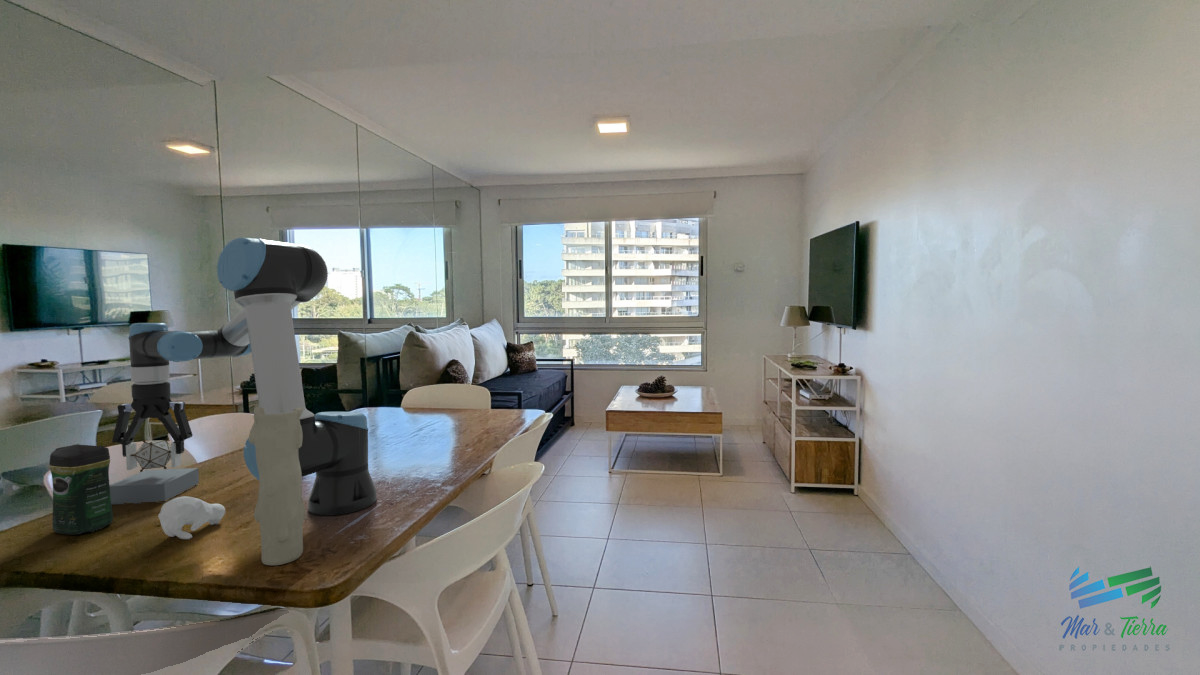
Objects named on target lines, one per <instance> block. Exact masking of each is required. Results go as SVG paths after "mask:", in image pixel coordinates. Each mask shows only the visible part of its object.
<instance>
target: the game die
mask: <svg viewBox="0 0 1200 675" xmlns="http://www.w3.org/2000/svg"><path fill="white" fill-rule="evenodd" d="M168 440H169V436H167V437H166V438H165V439H161V440H160V439H159V440H152V441H151V440H149V441H146V439H142V444H141V446H140V447H139V448H138V449H137V452H136V453H135V454H131V455H130V456H135V458H136V460H137V464H138V465H139V466H140V467H141V469H140V470H139V473H140V472H142V471H144V470H152V469H158V468H159V469H160V468H163V469H166V470H167V469H168V467H167V464H168V462H169V461H170V460H171V444H170V443H169V442H168Z"/></svg>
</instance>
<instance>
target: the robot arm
mask: <svg viewBox="0 0 1200 675" xmlns="http://www.w3.org/2000/svg"><path fill="white" fill-rule="evenodd" d="M217 260H218V261H217V265H216V274H217V279H218V281H219V283H220V284H221V286H222V288H224V289H225V290H228V291H230V292H233V295H234V302H235V303H237V304H239V306H241V307H243V309H242V310H240V311H239V312H238V313H237V314H236V315H234V317H232V318H231V319H230V320H229V321H227V323H225V324H224V325H222V326H221V327H220V328H219V329H204V330H202V329H201V330H169V326H168V325H167V324H166V323H165V322H137V323H136V322H135V323H131V324H130V326H129V330H128V331H129V332H128V333H129V334H128V335H129V336H128V338H127V339H128V343H129V358H130V359H129V360H130V381H131V382H132V383H133V384H131V388H130V389H131V397H132V402H131V403H127V402H126V403H123V404H118V405H117V411H118V412H117V413H118V416H117V420H116V422H115V428H114V431H113V432H114V433H113V435H112V440H111V442H112V443H115V444H116V443H117V444H120V445H121V449H122V454H121V455H122V457H123V458H124V457H125V459H126V460H125V461H126V471H131V470H133V469H135V468H137V467H138V461H137V460H136V458H135V456H130V455H131V454H135V453H136V452H137V451H138V449H137V448H138V447H137V442H134V439H135V438H136V436H137V434H138V432H139V431H140V429H141V426H142V425H143V423H144V421H145V420H146V419H149V418H150V419H151V418H152V419H157V420H158V421H160V422H161V423H162V425H163V427H164V428H165V429H166V431H167V432H168V434H169V436H170V437H171V438H172V440H173V441H172V442H170V447H171V459H170V460H171V469H176V468H177V467H179V466H181V465H182V454H184V452H185V440H187V439H190V438H192V437H193V435H194V434H193V432H192V428H191V426H190V422H189V420H188V416H187V414H186V411H185V407H186V402H185V401H179V402H175V401H172V400H171V382H170V381H169V380H170V378H171V376H170V374H171V373H170V362H174V363H180V362H189V361H192V360H203V359H204V360H205V359H214V358H215V359H216V358H229V357H230V358H237V357H241V356H247V355H249V354H251V359H252V360H251V361H252V365H253V367H252V368H253V373H254V379H255V380H254V381H255V388H256V393H257V394H256V395H257V400H258V401H257V402H258V407H260V408H263V409H264V412H265V414H282V413H289V412H293V410H294V409H295V408H297V407H302V408H303V412H302V414H301V416H300V419H299V420H300V425H301V428H302V434H303V440H302V446H301V447H300V448H299V449H298V456H299V462H300V467H301V474H302V478H303V477H306V476H308V475H312V474H315V479H314V482H313V485H312V488H311V491H310V494H309V497H308V501H307V502H308V512H310V513H311V514H314V515H318V516H340V515H345V514H351V513H354V512H355V513H356V512H358V511H361V510H365V509H366V508H369V507H370V506H372V505H373V504H375V502H376V501H377V488H376V487H375V483H374V481H373V479H372V476H371V473H370V470H369V427H368V420H367V419H368V418H367V416H366V415H365V414H364V413H361V412H354V411H321V412H317V413H315V414H314V413H313V412H312V411H310V410H308V409H307V408H306V403H305V397H304V394H305V393H304V388H303V381H302V375H301V368H300V362H299V354H298V348H297V341H296V334H295V328H294V322H293V321H294V320H293V314H292V310H293V309H295V307H297V306H298V305H299V304H301V303H302V304H303V303H308V302H310V301H311V300H313V299H314V298H315V297H317V296H318V295H319V294H320V293H321V291H322V290H323V289H324V288H325V285H326V283H327V281H328V274H329V273H328V266H327V264H326V261H325V260H324V258H323V256H322V255H320V254H319V253H318V251H316V250H315V249H313V248H312V247H310V246H308V245H304V244H300V243H292V242H291V243H290V242H285V241H284V242H283V241H278V240H277V241H276V240H269V239H263V238H261V237H254V238H253V237H237V238H233V239H231V240H230V241H228V243H227V244H225V246H224V247H223V249H222V251H221V252H220V254H219V256H218V259H217ZM169 409H171V410H172V411H173V414H174V418H175V420H174V419H173V417H172V414H171V412H170V411H169ZM131 411H135V414H134V416H133V418H132V422H131V423H130V425H129V422H130V417H131ZM175 421H176V422H175ZM128 425H129V427H128ZM243 458H244V463H245V465H246V467H247V469H248V471H249V472H250V474H251V475H252V476H253V477H254V478H255V479H256V480H257V481H259V482H260V479H259V472H258V467H257V462H256V450H255V445H254V444H251V443H250V442H249V437H248V438H247V439H246V440H245V443H244V446H243Z"/></svg>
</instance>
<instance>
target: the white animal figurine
mask: <svg viewBox="0 0 1200 675" xmlns="http://www.w3.org/2000/svg"><path fill="white" fill-rule="evenodd" d="M225 514H226V508H225V507H224V505H222V504H220V503H208V502H206V501H204V500H202V499H200V498H197V497H193V496H176V497H174V498H172V499H170V500H168V501H166V502H164V503H163V505H162V506H161V508H160V512H159V513H158V515H157V517H158V519H159V521H160V525H161V528H162V530H163V532H164V534H165V535H167V536H168V537H172V538H173V537H175V536H176V537H177V538H178V539H180V540H191V539H192V538H193V535H192V533H189V532H188V531H183V527H184V526H185V525H187V526H189V525H190V530H191V531H192V532H195V531H196V530H198V529H199V528H200V527H202V526H203V525H204V524H207V523H209V524H210V525H211V526H212V525H217V526H218V524H219V523H220V522H221V520H222V519H223V517H224V516H225ZM190 538H191V539H190Z"/></svg>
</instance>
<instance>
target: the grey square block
mask: <svg viewBox="0 0 1200 675" xmlns="http://www.w3.org/2000/svg"><path fill="white" fill-rule="evenodd" d="M198 483H199V484H200V477H199V468H198V467H194V468H193V467H192V468H189V467H188V468H187V467H186V468H167V470H166V469H164V468H161V469H160V468H159V469H158V468H156V469H144V470H143V471H142V472H140V471H139V472H138V473H137V472H136V473H135V474H133V475H130V476H128V477H126V478H122V479H121V480H118V481H115V482H113V483H111V484H109V485H110V496H111V504H112V505H125V504H124V503H133V504H142V503H141V502H156V503H158V502H157V501H166V500H168V499H170V498H172V497H174V496H176V495H178V494H180V493H181V492H183V491H185V490H187V489H189V488H191V487H193V486H195V485H197V484H198ZM197 486H198V485H197ZM195 487H196V486H195ZM193 488H194V487H193ZM191 489H192V488H191ZM189 490H190V489H189ZM187 491H188V490H187ZM180 495H181V494H180ZM178 496H179V495H178ZM176 497H177V496H176ZM174 498H175V497H174ZM172 499H173V498H172ZM170 500H171V499H170ZM168 501H169V500H168ZM166 502H167V501H166Z"/></svg>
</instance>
